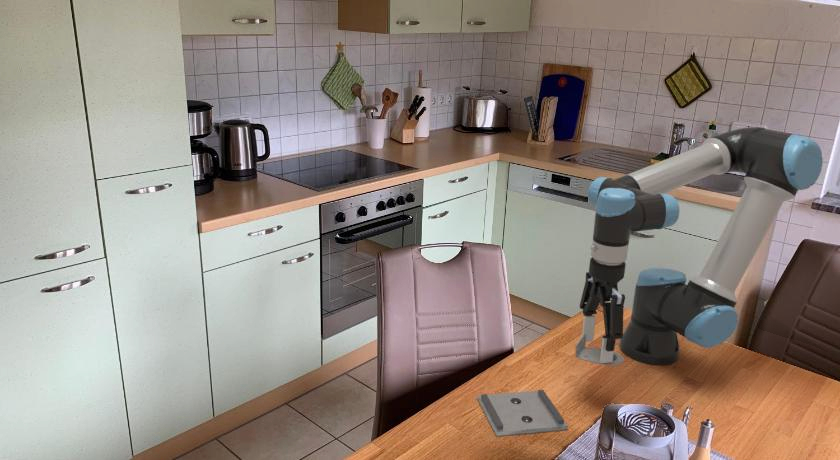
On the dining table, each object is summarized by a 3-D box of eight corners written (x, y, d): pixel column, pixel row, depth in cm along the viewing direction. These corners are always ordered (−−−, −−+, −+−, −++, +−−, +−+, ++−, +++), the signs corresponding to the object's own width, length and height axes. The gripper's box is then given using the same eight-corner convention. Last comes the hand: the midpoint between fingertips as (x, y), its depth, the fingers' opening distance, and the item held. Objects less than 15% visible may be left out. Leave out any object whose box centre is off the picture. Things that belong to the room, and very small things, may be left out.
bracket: (618, 371, 142) (620, 357, 141) (574, 358, 147) (575, 344, 146) (626, 358, 148) (628, 344, 147) (583, 346, 153) (584, 333, 152)
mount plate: (542, 393, 153) (543, 387, 152) (567, 429, 140) (568, 422, 139) (477, 398, 149) (478, 392, 149) (496, 436, 136) (497, 429, 136)
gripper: (571, 243, 150) (561, 330, 158) (616, 280, 130) (602, 377, 138) (601, 241, 152) (590, 328, 159) (650, 277, 132) (635, 374, 139)
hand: (596, 351), depth 148 cm, fingers closed on bracket, 9 cm apart
